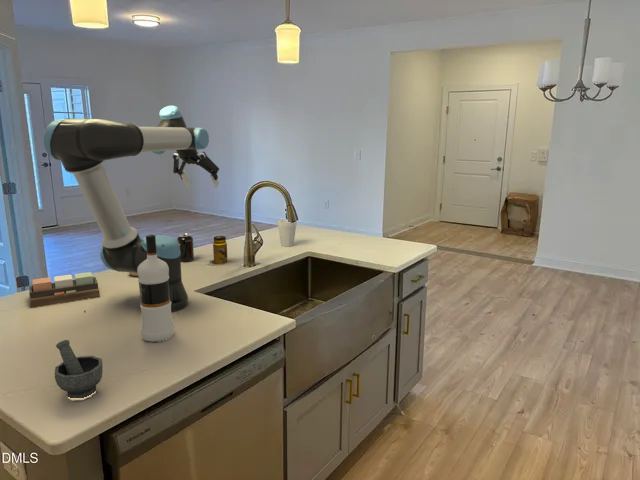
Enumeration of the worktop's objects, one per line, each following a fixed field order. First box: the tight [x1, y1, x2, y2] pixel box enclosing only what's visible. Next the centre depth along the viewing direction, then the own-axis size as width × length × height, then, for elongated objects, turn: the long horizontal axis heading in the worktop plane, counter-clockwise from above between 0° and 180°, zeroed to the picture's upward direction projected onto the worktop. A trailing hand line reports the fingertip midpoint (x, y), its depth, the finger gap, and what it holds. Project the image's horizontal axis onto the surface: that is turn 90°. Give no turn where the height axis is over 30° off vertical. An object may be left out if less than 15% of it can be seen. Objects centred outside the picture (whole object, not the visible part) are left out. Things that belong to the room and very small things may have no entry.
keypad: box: [28, 276, 101, 309], centre depth 167 cm, size 13×21×4 cm, turn 120°
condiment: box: [208, 235, 229, 266], centre depth 209 cm, size 7×8×12 cm
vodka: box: [137, 234, 176, 343], centre depth 133 cm, size 9×9×30 cm
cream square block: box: [53, 274, 74, 289], centre depth 166 cm, size 6×6×3 cm
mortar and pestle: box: [54, 339, 104, 398], centre depth 105 cm, size 11×9×12 cm
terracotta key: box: [32, 276, 53, 292], centre depth 163 cm, size 6×6×3 cm
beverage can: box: [176, 233, 195, 263], centre depth 212 cm, size 7×7×12 cm
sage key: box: [74, 271, 94, 286], centre depth 169 cm, size 6×6×3 cm
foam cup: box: [277, 218, 297, 248], centre depth 241 cm, size 10×9×13 cm
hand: (202, 185), depth 200 cm, fingers open, 13 cm apart
